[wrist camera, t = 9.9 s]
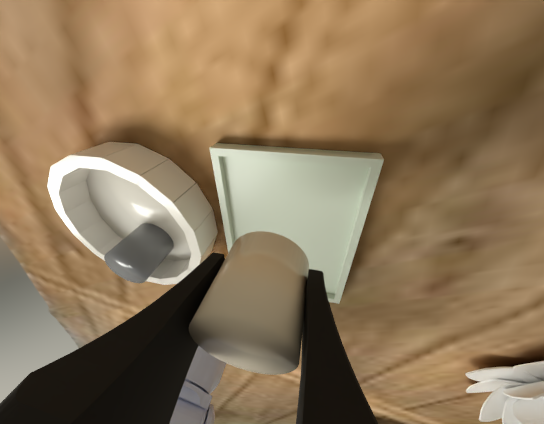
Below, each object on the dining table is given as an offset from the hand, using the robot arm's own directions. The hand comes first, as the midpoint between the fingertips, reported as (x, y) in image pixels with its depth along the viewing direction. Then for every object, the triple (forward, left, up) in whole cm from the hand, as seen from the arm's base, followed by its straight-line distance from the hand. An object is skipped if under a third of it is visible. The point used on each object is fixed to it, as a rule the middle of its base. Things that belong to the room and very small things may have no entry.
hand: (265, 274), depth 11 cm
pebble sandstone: (0, 0, -1) cm, 1 cm away
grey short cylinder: (-7, +15, -8) cm, 18 cm away
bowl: (-4, +15, -8) cm, 18 cm away
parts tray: (-4, 0, -8) cm, 9 cm away
